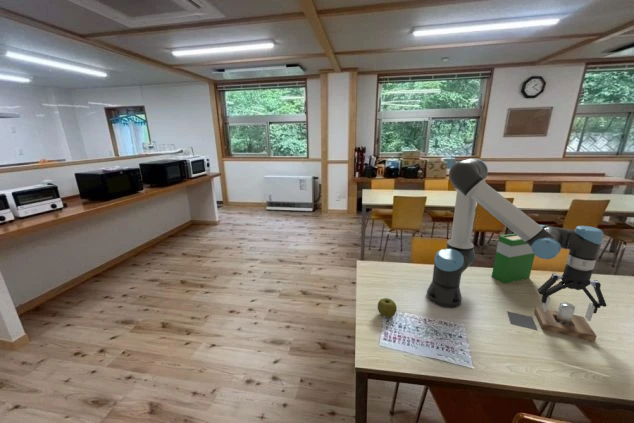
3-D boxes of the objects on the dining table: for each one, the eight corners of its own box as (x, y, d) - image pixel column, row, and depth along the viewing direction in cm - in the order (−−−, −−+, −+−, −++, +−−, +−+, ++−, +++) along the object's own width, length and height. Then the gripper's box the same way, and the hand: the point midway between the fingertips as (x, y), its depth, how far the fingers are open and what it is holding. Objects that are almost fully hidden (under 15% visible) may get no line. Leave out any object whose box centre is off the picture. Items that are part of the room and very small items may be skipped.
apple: (379, 308, 123) (380, 294, 121) (397, 312, 120) (398, 298, 118) (375, 318, 117) (376, 303, 115) (394, 323, 114) (395, 308, 112)
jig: (541, 329, 109) (543, 323, 108) (533, 312, 119) (535, 306, 118) (594, 342, 102) (596, 336, 101) (581, 322, 112) (583, 316, 111)
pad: (510, 324, 112) (510, 323, 112) (506, 312, 120) (507, 311, 119) (537, 331, 108) (537, 330, 108) (532, 317, 116) (532, 316, 116)
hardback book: (516, 271, 153) (524, 231, 146) (529, 278, 146) (539, 236, 139) (491, 276, 148) (499, 235, 142) (503, 283, 142) (512, 240, 135)
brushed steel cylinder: (556, 328, 110) (562, 307, 107) (552, 321, 113) (558, 300, 110) (570, 331, 108) (577, 309, 105) (566, 324, 112) (572, 303, 109)
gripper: (541, 264, 105) (529, 311, 111) (630, 278, 94) (612, 329, 100) (535, 256, 111) (525, 301, 117) (619, 268, 101) (602, 317, 107)
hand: (565, 314), depth 109 cm, fingers open, 13 cm apart
